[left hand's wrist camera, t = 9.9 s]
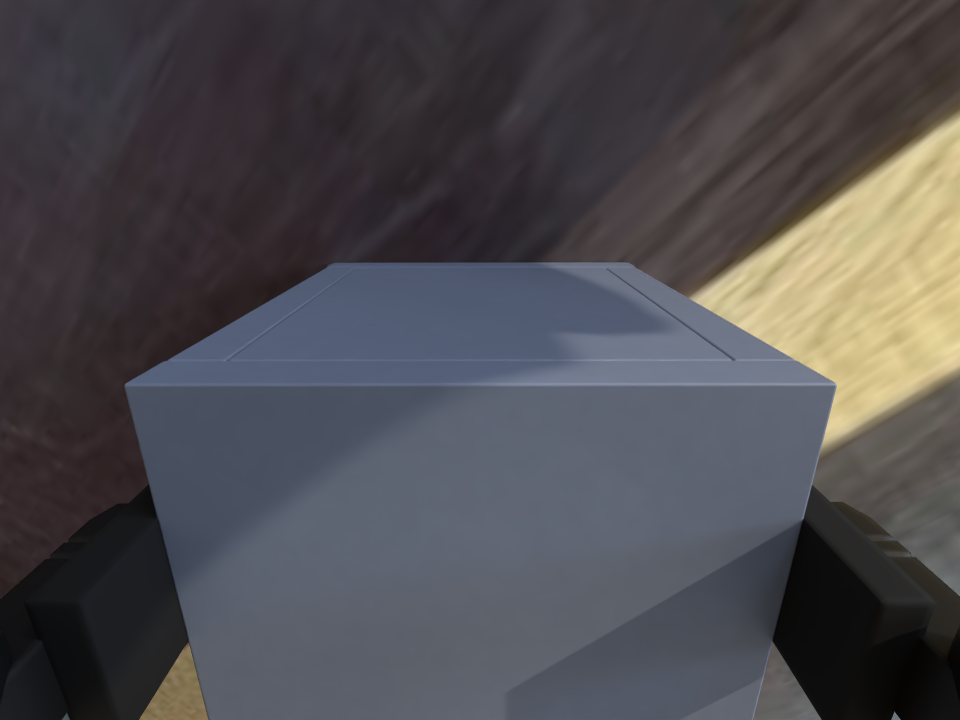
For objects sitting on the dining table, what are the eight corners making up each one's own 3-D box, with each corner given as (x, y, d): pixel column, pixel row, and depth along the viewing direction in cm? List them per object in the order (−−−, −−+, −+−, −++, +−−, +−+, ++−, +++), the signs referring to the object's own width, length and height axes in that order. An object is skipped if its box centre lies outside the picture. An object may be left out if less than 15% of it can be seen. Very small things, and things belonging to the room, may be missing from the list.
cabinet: (597, 582, 24) (700, 935, 13) (363, 582, 24) (261, 935, 13) (628, 262, 19) (839, 383, 8) (332, 262, 19) (120, 383, 8)
